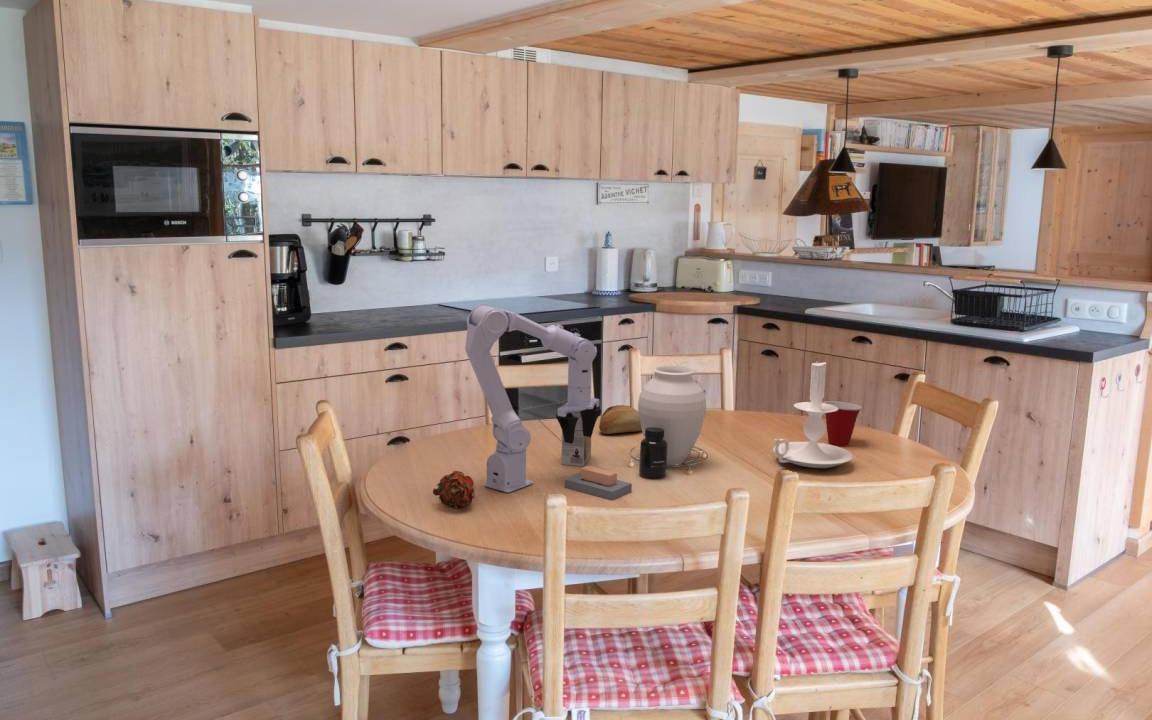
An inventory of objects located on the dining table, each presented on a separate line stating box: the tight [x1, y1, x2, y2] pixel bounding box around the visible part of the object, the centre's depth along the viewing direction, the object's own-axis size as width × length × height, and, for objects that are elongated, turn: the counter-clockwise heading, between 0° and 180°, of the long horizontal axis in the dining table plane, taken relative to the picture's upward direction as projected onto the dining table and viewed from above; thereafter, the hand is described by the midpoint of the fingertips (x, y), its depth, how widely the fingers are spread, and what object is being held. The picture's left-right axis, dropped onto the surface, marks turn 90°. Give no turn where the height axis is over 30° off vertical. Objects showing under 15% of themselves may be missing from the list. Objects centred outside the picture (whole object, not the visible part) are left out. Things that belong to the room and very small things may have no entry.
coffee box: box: [561, 399, 592, 467], centre depth 233 cm, size 9×6×16 cm
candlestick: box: [772, 360, 854, 469], centre depth 233 cm, size 21×25×28 cm
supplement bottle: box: [638, 427, 668, 480], centre depth 223 cm, size 7×7×12 cm
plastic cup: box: [822, 400, 863, 447], centre depth 256 cm, size 11×11×12 cm
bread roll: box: [598, 404, 642, 435], centre depth 264 cm, size 10×15×8 cm, turn 122°
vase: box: [637, 365, 707, 466], centre depth 234 cm, size 18×18×25 cm
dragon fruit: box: [432, 470, 476, 510], centre depth 199 cm, size 8×8×12 cm
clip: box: [580, 465, 618, 487], centre depth 212 cm, size 3×8×5 cm, turn 53°
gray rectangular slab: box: [564, 472, 633, 501], centre depth 212 cm, size 8×14×2 cm, turn 53°
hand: (578, 439), depth 221 cm, fingers open, 7 cm apart
